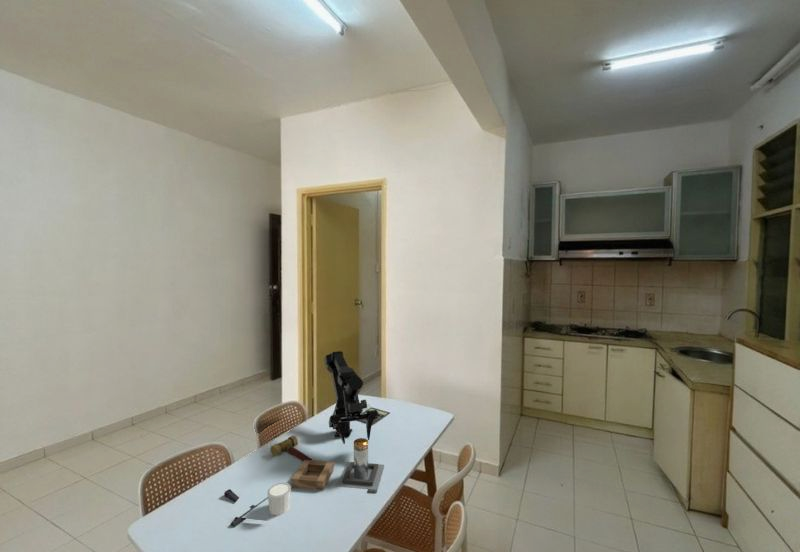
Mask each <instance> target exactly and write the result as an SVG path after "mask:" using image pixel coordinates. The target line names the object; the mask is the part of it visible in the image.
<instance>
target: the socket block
mask: <svg viewBox="0 0 800 552" xmlns="http://www.w3.org/2000/svg"><path fill="white" fill-rule="evenodd" d="M334 468H335V462H334V461H326V460H325V461H324V460H313V459H312V460H304V461H302V463H301V464H300V466H299V468H297V470H296V472H295V473H294V475H293V476H292V477H291V489H301V490H314V491H324V490H325V488H326V486H327V484H328V483H329V480H330V479H331V476H332V474H333V473H334V470H335V469H334Z"/></svg>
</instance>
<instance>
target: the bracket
mask: <svg viewBox="0 0 800 552" xmlns="http://www.w3.org/2000/svg"><path fill="white" fill-rule="evenodd" d="M224 497H225V498H226V499H229V500H231V502H234V503H237V501H238V500H239V499H240V496H238V495H237V494H236V493H235V492H234V491H233V490H231V489H230V488H229V489H227V490H226V491H224ZM266 500H268V496H267V497H266V498H264V499H263V500H262V501H260V502H259V503H257V504H256V505H254V504H252V505H250V506H249V508H250V509H249V510H247V511H246V512H244V513H242V514H241V515H240V516H235V517H234V518H233V519H232V521H231V523H230V526H233V528H235V527H237V526H238V525H240V524H241V523H242V522H244V521H246V519H247V518H246V517H244V516H246V515H247V514H248V513H250V512H252V510H254V509H255V508H257V507H258V506H260V505H261V504H262V503H263V502H264V501H266Z"/></svg>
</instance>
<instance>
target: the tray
mask: <svg viewBox="0 0 800 552" xmlns="http://www.w3.org/2000/svg"><path fill="white" fill-rule="evenodd" d="M384 469H385V464H382V463H371V462H370V463H369V462H368V476H367V477H366V478H365V479H356V478H355V477H354V461H347V463H346V464H345V466H344V468H343V471H342V472H341V475H340V477H339V478H338V479H339V480H338V481H337V483H336V485H335V487H337V488H338V487H340V488H350V489H353V488H354V489H360V490H367V491H366V492H367V493H375V492H377V493H378V490H379V487H380V484H381V480H382V477H381V476H383V473H384ZM379 483H380V484H379Z"/></svg>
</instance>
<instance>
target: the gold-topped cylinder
mask: <svg viewBox="0 0 800 552" xmlns="http://www.w3.org/2000/svg"><path fill="white" fill-rule="evenodd" d="M353 462H354V477H355V478H356V479H365V478H366V477H367V476H368V463H369V440H368V438H365V437H364V438H363V437H361V438H357V439H355V440H353Z"/></svg>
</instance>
